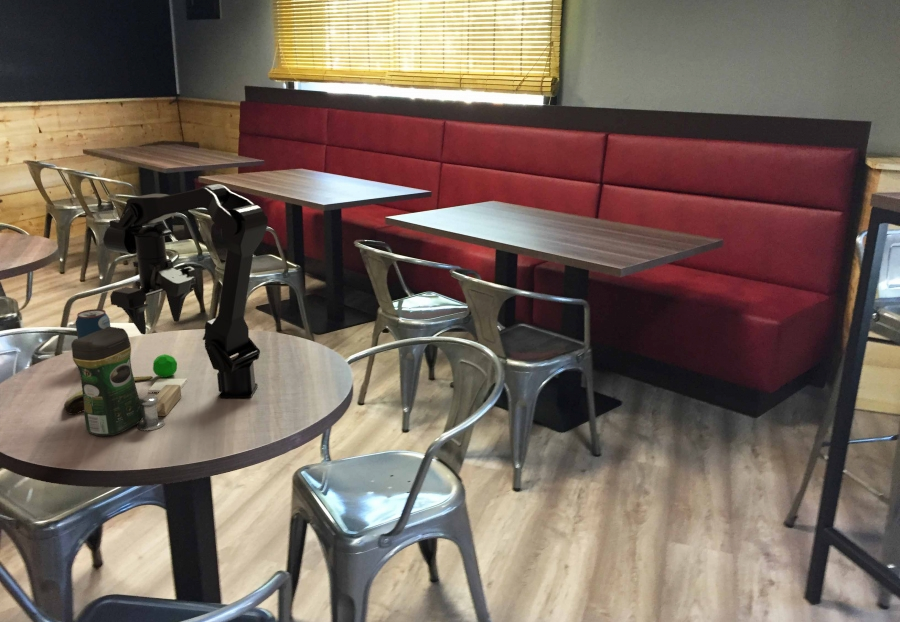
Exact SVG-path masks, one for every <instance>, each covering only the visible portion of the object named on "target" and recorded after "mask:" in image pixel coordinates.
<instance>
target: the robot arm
mask: <svg viewBox="0 0 900 622" xmlns="http://www.w3.org/2000/svg"><path fill="white" fill-rule="evenodd" d="M125 202H126V204H125V207H124V209H123V212H122V213H121V216H120V218H119V219H118V218H116V219H112V220H109V227H107V228H106V230H105V232H104V235H103V238H102V240H103V244H104V246H105V248H107V250H109V251H111V252H115V253H122V254H128V255H136V259H137V260H136V261H132V265H133V268H138V277H139V279H138V280H136V281H135V287H140V288H135V287H128V286H125V287H121V288H118V289H115V290H112V291H111V293H110V294H109V295H110V296H109V297H110V305H111V306H112V305H113V306H116V308H120V309H122V310H123V312H125V314H126V315H127V316H128V317H129V318H130V319H131V322H132V323H133V325H134V326H135V328H136V329H137V330H138V331H139V333H140V334H141V335H146V334H147V325H146V324H147V323H146V316H145V315H146V313H145V311H146V309H147V308H148V306H149V304H147V303H146V301H147V297H149V296H152V295H155V294H158V293H161V292H165V295H166V300H167V302H168V306H169V310H170V314H171V316H172V317H171V318H172V319H173V321H174V322H176V323H178V322H180V318H181V315H182V314H181V313H182V310H183V306H184V302H185V301H186V300H185V299H186V298H187V296H189V294H190V293H192V292H194V288H196V287H199V286H198V277H197V276H196V270H195V268H194V267H192V266H187V267H183V269H181V268H179V269H176V268H175V266H174V263H173V261H172V259H168V257H167V249H166V248H167V247H166V240H165V237H166V236H170V235H172V234H173V232H172V231H171V229H169V228H168V227H166V225H165V224H164V223H160V222H162V221H165V220H166V219H169V218H171V217H173V216H174V215H175V214H177V213H181V212H185V211H190V210H195V209H200V208H201V209H202V208H205V209H206V211H207V212H208V215H209V217H210V219H211V221H212V222H213V223H214V224H215V225H216V226H218V227H219V228H220V233H221V234H220V236H221V240H222V242H223V243H224V246H225V248H226V256H225V263H224V270H223V277H222V285H221V291H220V296H219V297H220V299H219V304H218V305H219V306H218V313H217V316H216V317H215V318H212V319H210V320H207V321H206V322H205V325H204V335H203V337H202V340H203V341H204V349H205V351H206V353H207V356H208V358H209V361H210V364H211V365H212V368H213V370H216V371H217V374H216V375H217V387H218V392H219V394H218V397H219V399H230V398H231V399H247V398H248V399H249V398H252V396H253V395H254V393H255V391H256V390H257V388H258V386H259V385H258V383H256V379H255V378H256V377H255V376H256V375H255V368H254V367H255V366H254V361H257V360H259V357H260V354H261V350H260V348H258V346H257V345H256V344H255V342H253V340H252V339H251V338H250V337H249V331H250V328H249V326H248V323H247V322H246V319H245V318H244V316H245V308H246V304H247V298H248V297H247V296H248V291H249V285H250V284H249V283H250V277H251V272H252V265H253V257H254V253H255V252H256V250H257V249H258V247H259V246H260V244H261V243H262V242H263V239H264V236H265V234H266V231H267V228H268V224H269V221H268V216H267V215H266V213H265V211H264V210H263V208H261V207H260V206H259V205H256V204H255V203H253V202H252V201H251V200H250V199H248V198H246V197H244V196H242V195H239V194H237V193H235V192H233V191H231V190H230V189H229V188H228V187H227V186H225V185H223V184H220V183H215V184H214V183H213V184H208V185H204V186H201V187H200V188H197V189H192V190H187V191H183V192H179V193H172V194H166V193H151V194H143V195H138V196H132V197H129V198H127V199H126V200H125ZM158 222H159V224H155V223H158ZM151 225H154V226H151Z"/></svg>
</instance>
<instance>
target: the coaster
mask: <svg viewBox="0 0 900 622" xmlns="http://www.w3.org/2000/svg"><path fill="white" fill-rule="evenodd" d="M187 382H188V378H158V379H157V380H156V381H155V382H154V383H153V384H152V386H150V388H149V389H148V391H147V392H148V393H149V394H150V393H151V394H153V393H154V392H157V393H156V394H158V392H160V391H161V390H162V389H163V388H164V386H165V385H180V388H181V389H182V388H183V387H184V386H185V385H186V384H187ZM152 392H153V393H152ZM154 394H155V393H154Z"/></svg>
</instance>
